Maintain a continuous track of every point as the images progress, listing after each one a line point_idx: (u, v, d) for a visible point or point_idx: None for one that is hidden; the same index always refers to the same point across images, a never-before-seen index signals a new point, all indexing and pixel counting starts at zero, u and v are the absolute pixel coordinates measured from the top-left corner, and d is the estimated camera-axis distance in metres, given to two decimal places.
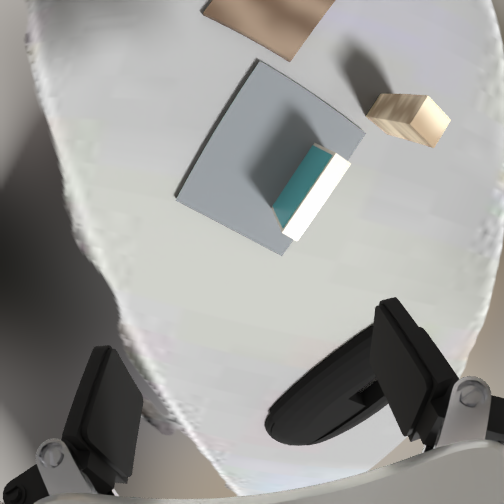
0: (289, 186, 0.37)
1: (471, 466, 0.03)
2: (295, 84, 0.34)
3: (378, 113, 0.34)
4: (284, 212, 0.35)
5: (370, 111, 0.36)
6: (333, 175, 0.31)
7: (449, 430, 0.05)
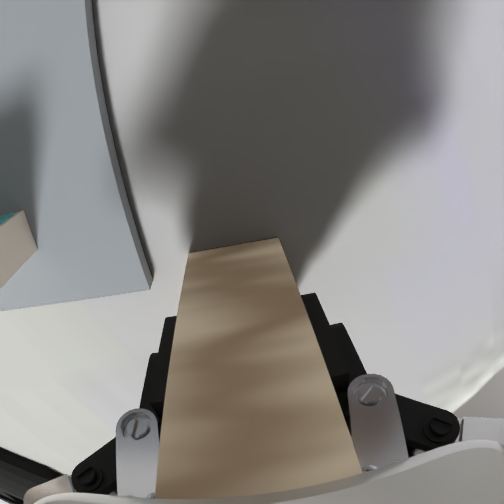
0: None
1: (471, 467, 0.03)
2: (84, 43, 0.09)
3: (200, 287, 0.11)
4: None
5: (207, 254, 0.13)
6: None
7: (360, 435, 0.06)
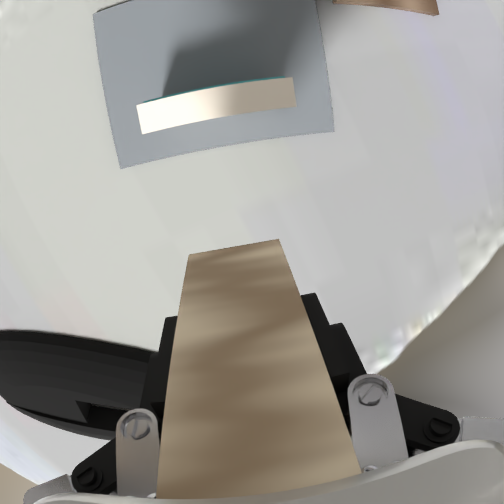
0: None
1: (472, 466, 0.03)
2: (316, 20, 0.22)
3: (201, 289, 0.11)
4: None
5: (207, 256, 0.13)
6: (263, 97, 0.18)
7: (360, 435, 0.06)
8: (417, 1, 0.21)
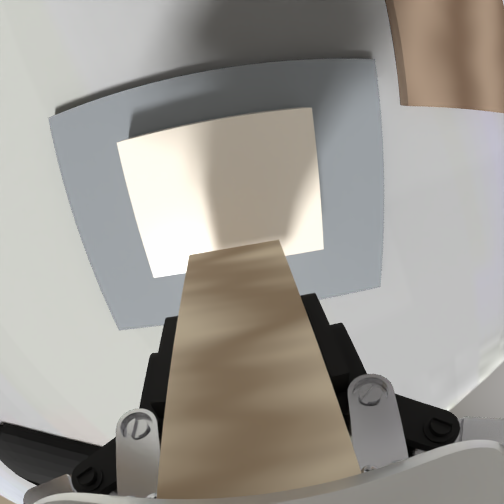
0: None
1: (471, 467, 0.03)
2: (379, 138, 0.18)
3: (201, 289, 0.11)
4: None
5: (208, 256, 0.14)
6: (269, 111, 0.15)
7: (360, 435, 0.06)
8: (499, 99, 0.16)
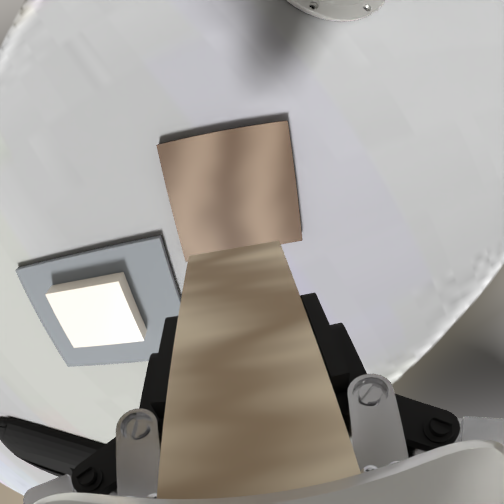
0: None
1: (471, 466, 0.03)
2: (171, 281, 0.33)
3: (201, 290, 0.11)
4: None
5: (208, 257, 0.13)
6: (103, 280, 0.31)
7: (361, 435, 0.06)
8: (274, 235, 0.32)
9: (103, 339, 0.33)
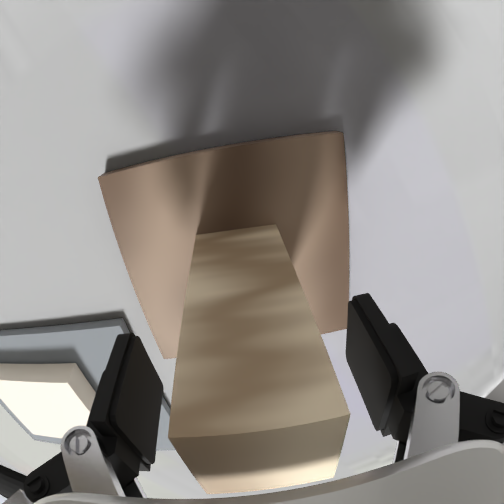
0: None
1: (471, 467, 0.03)
2: None
3: (208, 261, 0.13)
4: None
5: (213, 236, 0.15)
6: (50, 374, 0.18)
7: (420, 428, 0.06)
8: None
9: None
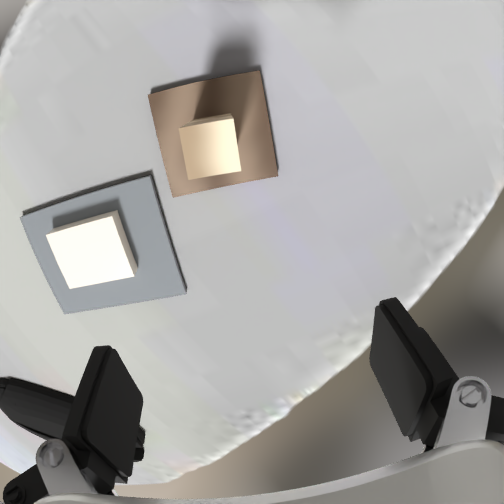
0: None
1: (471, 466, 0.03)
2: (159, 217, 0.36)
3: None
4: None
5: (201, 118, 0.31)
6: (99, 217, 0.34)
7: (449, 430, 0.05)
8: (252, 171, 0.34)
9: (97, 277, 0.36)
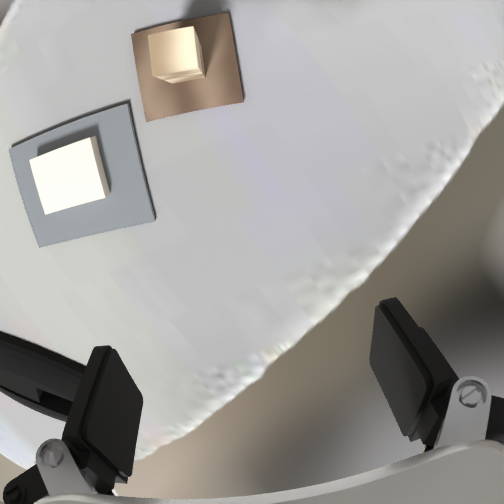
0: None
1: (471, 467, 0.03)
2: (133, 141, 0.36)
3: None
4: None
5: None
6: None
7: (449, 430, 0.05)
8: (219, 97, 0.34)
9: (71, 200, 0.36)
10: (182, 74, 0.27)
